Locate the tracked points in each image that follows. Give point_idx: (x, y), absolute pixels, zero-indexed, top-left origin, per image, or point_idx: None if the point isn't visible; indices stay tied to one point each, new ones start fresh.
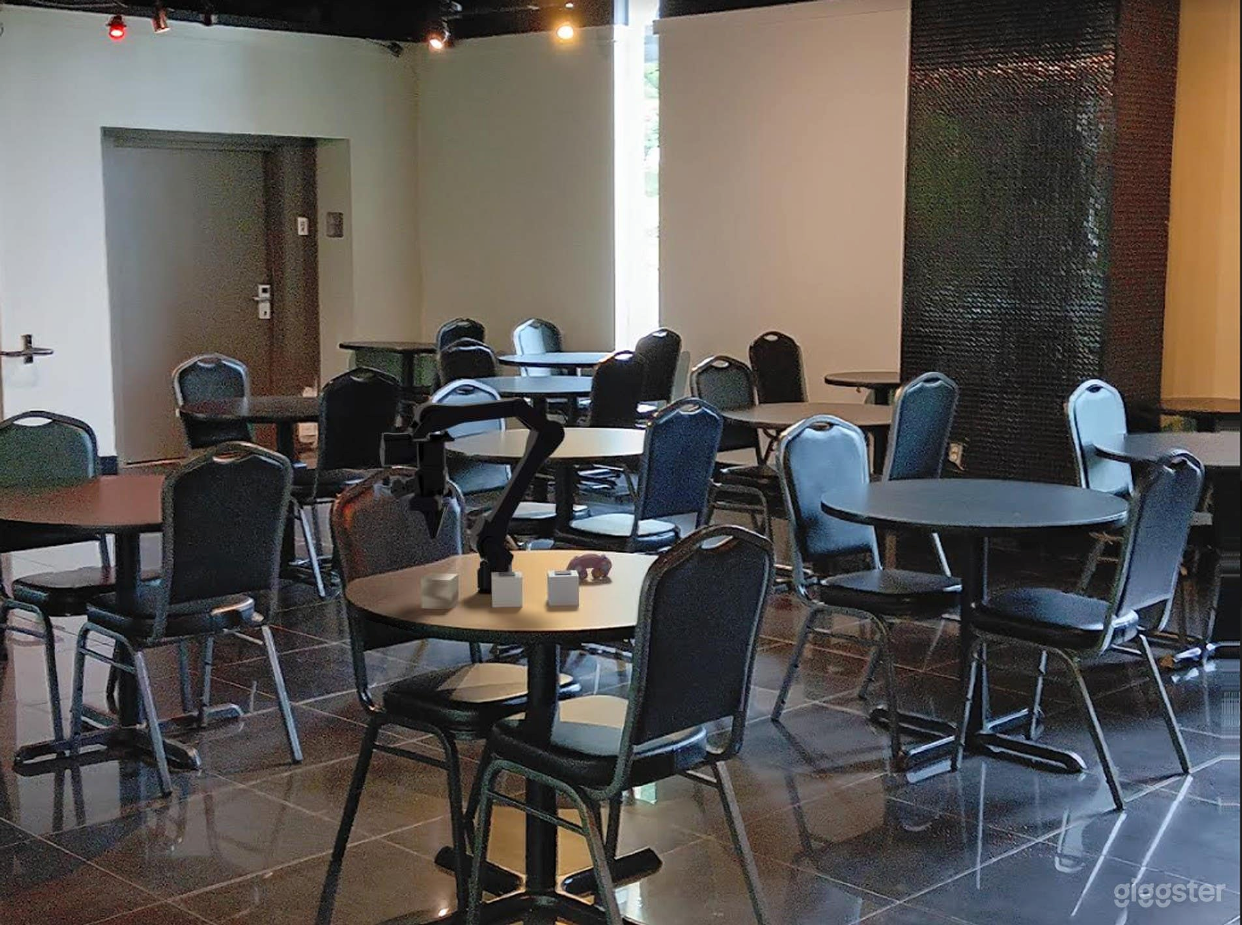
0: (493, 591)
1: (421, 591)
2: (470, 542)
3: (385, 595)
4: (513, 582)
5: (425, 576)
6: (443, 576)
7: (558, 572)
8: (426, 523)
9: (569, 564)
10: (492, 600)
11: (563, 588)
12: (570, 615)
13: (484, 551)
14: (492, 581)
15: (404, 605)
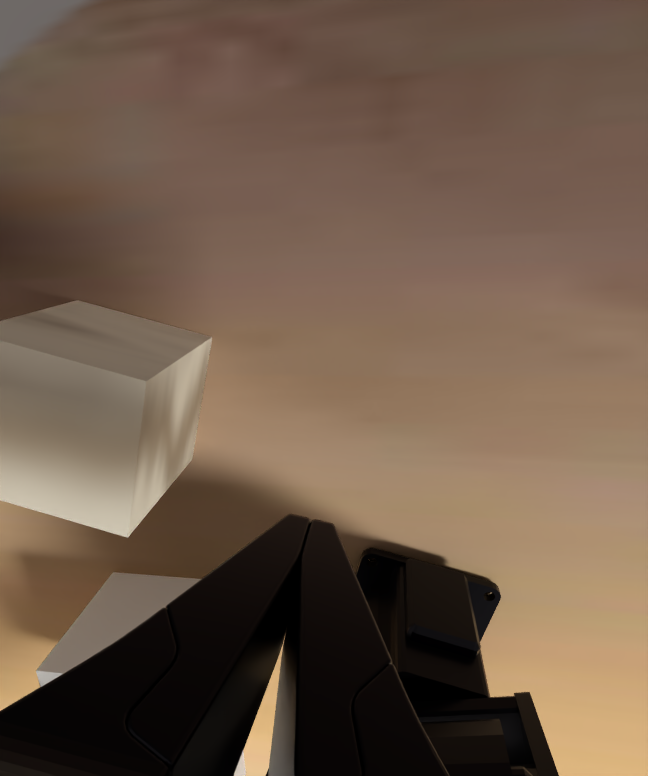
0: (77, 623)
1: (20, 315)
2: (484, 760)
3: (390, 70)
4: None
5: (47, 356)
6: (59, 460)
7: None
8: (155, 617)
9: None
10: (113, 590)
11: None
12: None
13: (268, 771)
14: (47, 657)
15: (131, 210)
